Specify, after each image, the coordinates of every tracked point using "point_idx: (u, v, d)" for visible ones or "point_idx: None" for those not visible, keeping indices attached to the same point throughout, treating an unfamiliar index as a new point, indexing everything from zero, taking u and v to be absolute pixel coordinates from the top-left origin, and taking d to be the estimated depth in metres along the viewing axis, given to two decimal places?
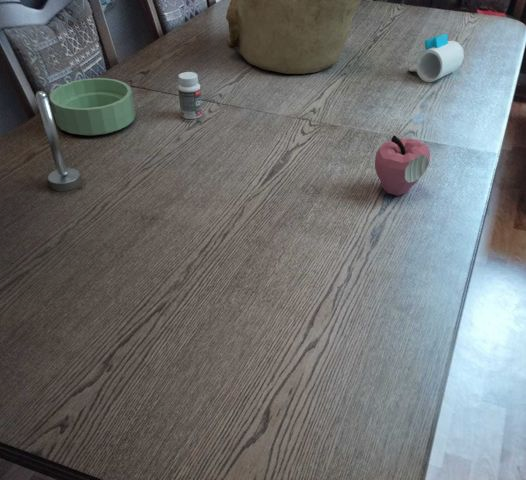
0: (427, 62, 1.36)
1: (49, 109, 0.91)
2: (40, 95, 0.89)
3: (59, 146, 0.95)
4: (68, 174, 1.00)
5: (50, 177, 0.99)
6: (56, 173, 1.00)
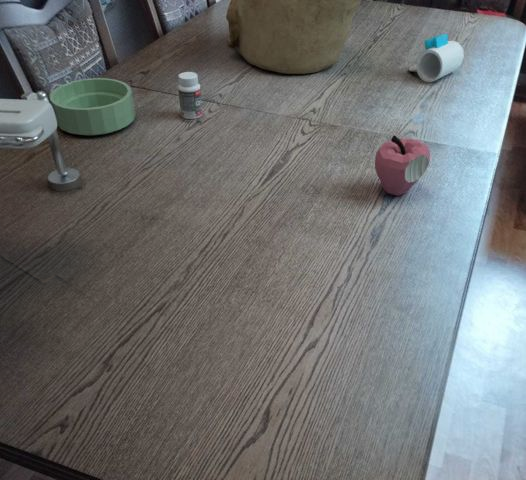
0: (427, 62, 1.36)
1: None
2: (40, 95, 0.89)
3: (59, 146, 0.95)
4: (68, 174, 1.00)
5: (50, 177, 0.99)
6: (56, 173, 1.00)
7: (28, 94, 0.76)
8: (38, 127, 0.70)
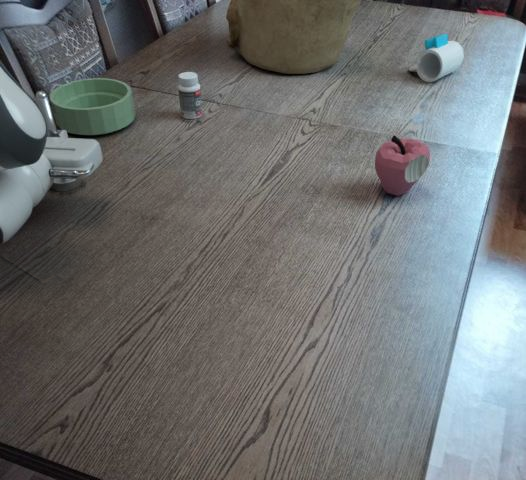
0: (427, 62, 1.36)
1: (49, 109, 0.91)
2: (40, 95, 0.89)
3: None
4: None
5: None
6: None
7: (60, 131, 0.93)
8: (89, 162, 0.87)
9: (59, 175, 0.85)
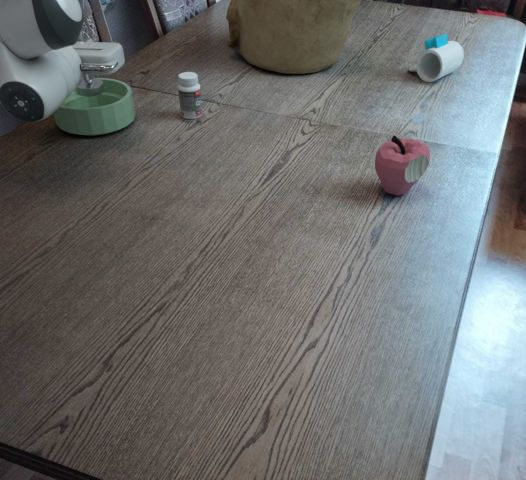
0: (427, 62, 1.36)
1: None
2: None
3: None
4: (93, 82, 1.13)
5: None
6: (82, 82, 1.14)
7: (87, 39, 1.07)
8: (114, 60, 1.00)
9: (88, 69, 0.99)
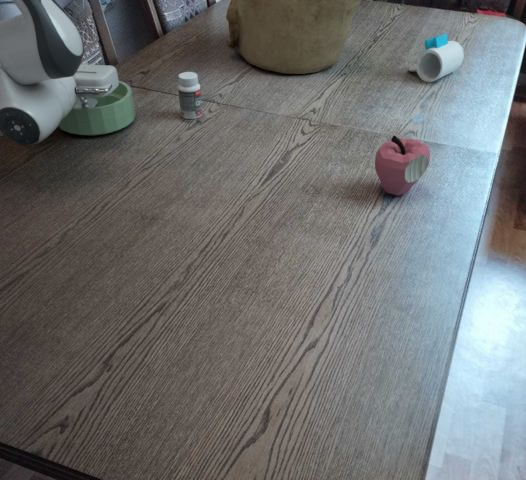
0: (427, 62, 1.36)
1: None
2: None
3: None
4: (88, 102, 1.16)
5: None
6: (77, 101, 1.17)
7: (82, 61, 1.10)
8: (108, 83, 1.03)
9: (83, 92, 1.01)
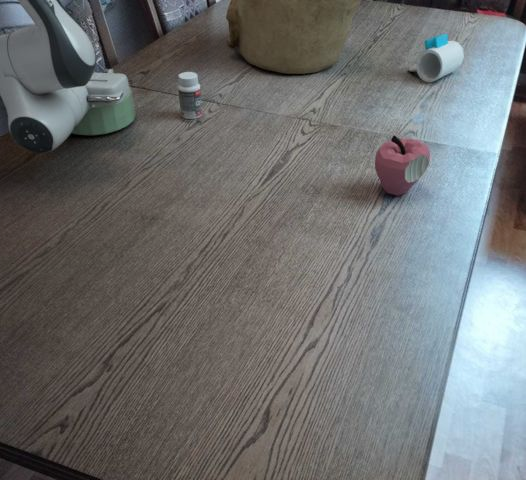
0: (427, 62, 1.36)
1: None
2: None
3: None
4: None
5: None
6: None
7: (108, 70, 1.11)
8: (119, 91, 1.05)
9: (95, 100, 1.03)
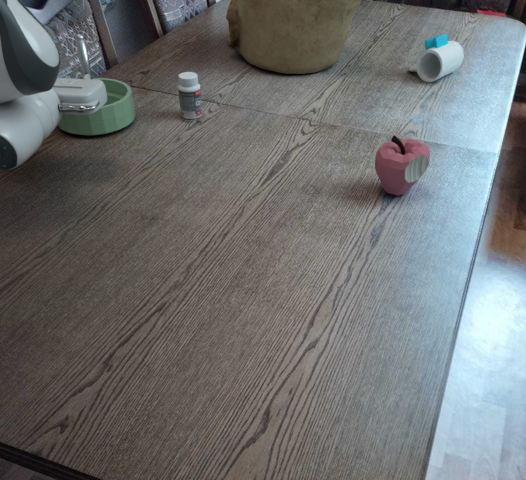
0: (427, 62, 1.36)
1: (85, 49, 1.08)
2: (79, 37, 1.06)
3: None
4: None
5: None
6: None
7: (84, 75, 1.00)
8: (95, 99, 0.94)
9: (67, 110, 0.92)
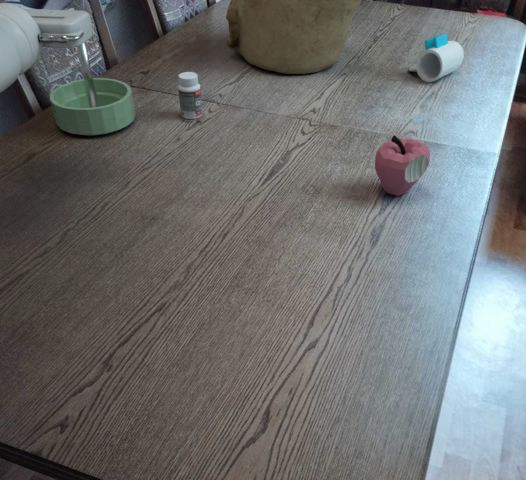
0: (427, 62, 1.36)
1: (85, 49, 1.08)
2: None
3: (92, 83, 1.13)
4: None
5: None
6: None
7: (68, 8, 0.92)
8: (79, 30, 0.85)
9: (48, 40, 0.83)
